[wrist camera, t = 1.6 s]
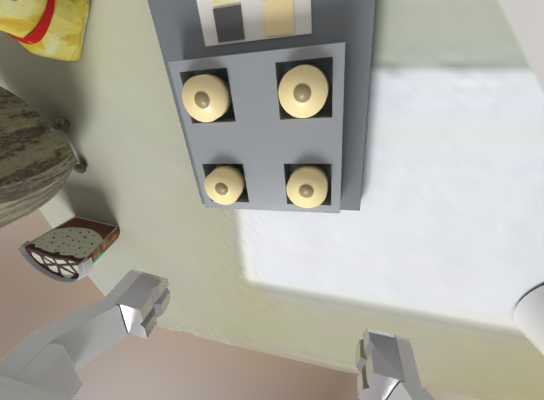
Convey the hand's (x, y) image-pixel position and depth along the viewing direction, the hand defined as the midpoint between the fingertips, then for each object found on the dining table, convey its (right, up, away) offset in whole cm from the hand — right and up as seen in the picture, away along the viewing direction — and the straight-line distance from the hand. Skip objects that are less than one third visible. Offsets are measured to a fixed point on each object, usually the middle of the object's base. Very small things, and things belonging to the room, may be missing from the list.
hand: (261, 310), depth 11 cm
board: (0, +16, +21) cm, 26 cm away
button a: (+5, +7, +20) cm, 22 cm away
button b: (-5, +7, +23) cm, 24 cm away
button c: (+4, +15, +15) cm, 22 cm away
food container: (-32, -2, +41) cm, 52 cm away
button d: (-6, +16, +18) cm, 24 cm away
